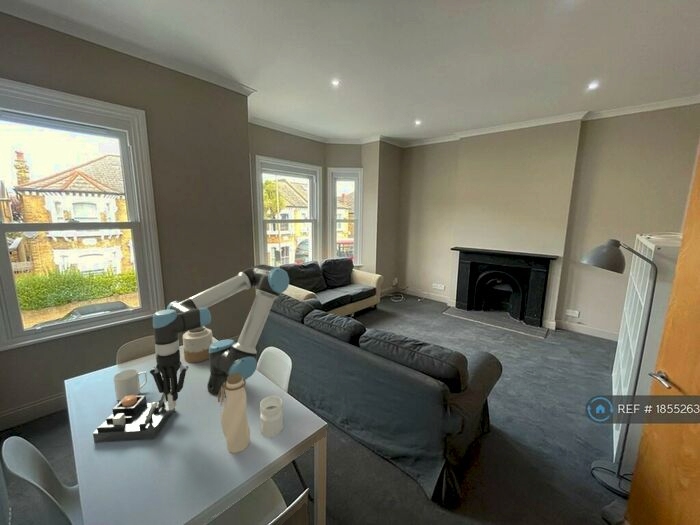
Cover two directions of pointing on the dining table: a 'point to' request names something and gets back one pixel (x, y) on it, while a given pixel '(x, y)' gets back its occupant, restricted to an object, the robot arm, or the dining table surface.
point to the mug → (128, 383)
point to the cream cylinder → (271, 416)
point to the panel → (134, 422)
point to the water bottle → (234, 413)
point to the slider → (119, 419)
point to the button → (129, 401)
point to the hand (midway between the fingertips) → (172, 407)
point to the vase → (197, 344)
